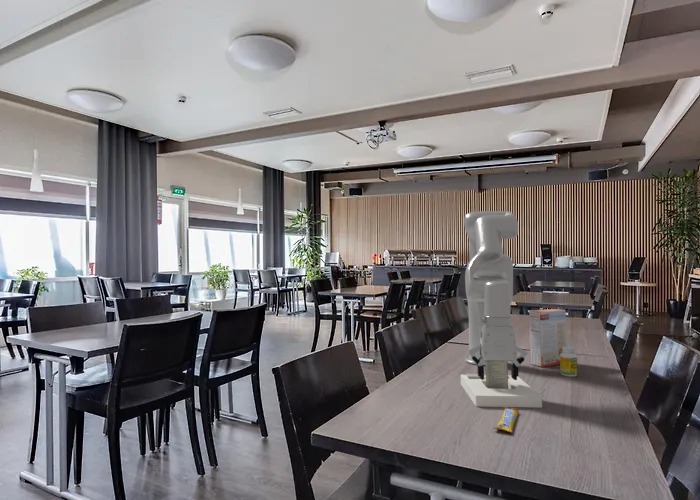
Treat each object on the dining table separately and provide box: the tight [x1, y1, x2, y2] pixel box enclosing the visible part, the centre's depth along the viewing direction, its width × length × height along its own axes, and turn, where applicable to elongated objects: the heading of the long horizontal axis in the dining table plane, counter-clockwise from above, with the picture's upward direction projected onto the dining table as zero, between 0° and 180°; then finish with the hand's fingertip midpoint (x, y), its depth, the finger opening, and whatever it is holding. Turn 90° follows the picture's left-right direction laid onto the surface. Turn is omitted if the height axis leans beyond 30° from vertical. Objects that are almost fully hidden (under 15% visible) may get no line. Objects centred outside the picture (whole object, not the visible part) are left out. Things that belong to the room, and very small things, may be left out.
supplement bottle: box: [559, 346, 578, 378], centre depth 156 cm, size 5×5×10 cm
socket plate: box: [460, 373, 543, 408], centre depth 134 cm, size 22×18×4 cm
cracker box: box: [528, 308, 567, 368], centre depth 173 cm, size 14×6×21 cm, turn 115°
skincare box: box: [484, 357, 509, 389], centre depth 134 cm, size 6×4×12 cm
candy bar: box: [493, 407, 520, 433], centre depth 112 cm, size 17×4×2 cm, turn 153°
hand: (497, 378), depth 134 cm, fingers open, 9 cm apart
